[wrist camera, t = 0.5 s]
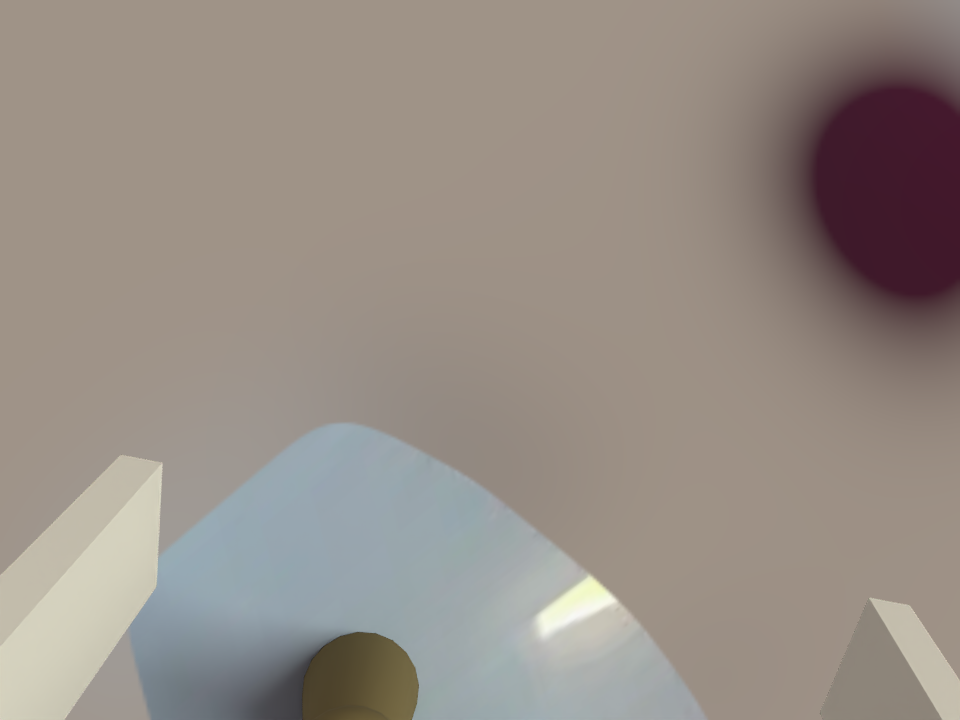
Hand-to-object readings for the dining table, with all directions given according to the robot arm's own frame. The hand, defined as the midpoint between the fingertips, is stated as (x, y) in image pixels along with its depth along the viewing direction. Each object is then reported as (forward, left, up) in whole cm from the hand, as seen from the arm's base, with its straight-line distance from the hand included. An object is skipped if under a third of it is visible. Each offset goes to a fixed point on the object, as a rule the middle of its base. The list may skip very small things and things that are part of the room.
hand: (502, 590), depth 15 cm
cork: (-12, +6, -29) cm, 32 cm away
